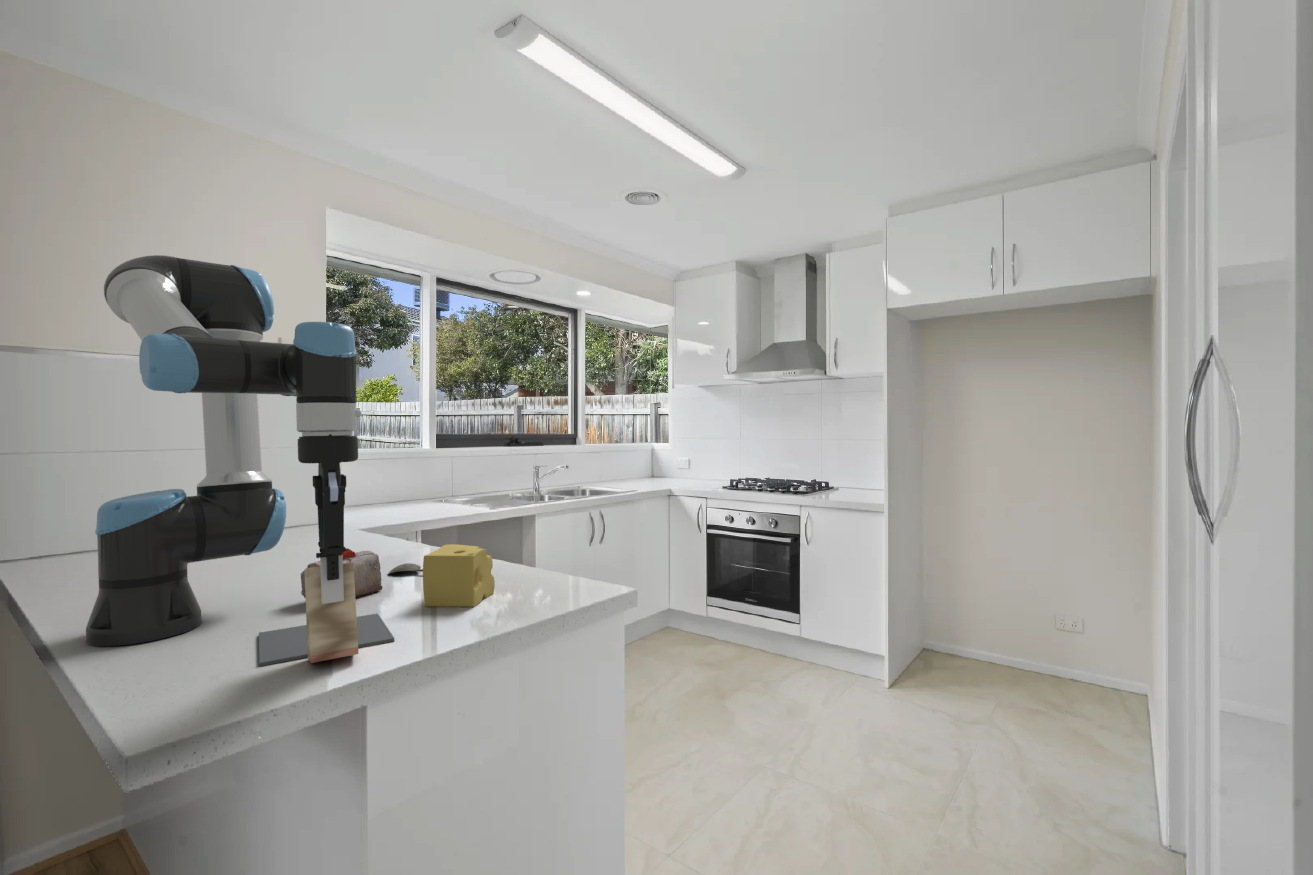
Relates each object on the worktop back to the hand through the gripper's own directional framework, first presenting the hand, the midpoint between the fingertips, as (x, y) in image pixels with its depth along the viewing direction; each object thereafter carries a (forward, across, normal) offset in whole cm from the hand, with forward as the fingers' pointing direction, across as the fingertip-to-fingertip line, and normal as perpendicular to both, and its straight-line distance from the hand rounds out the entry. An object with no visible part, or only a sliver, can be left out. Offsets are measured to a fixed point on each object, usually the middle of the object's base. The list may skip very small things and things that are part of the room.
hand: (332, 600), depth 89 cm
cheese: (+10, +24, -24) cm, 35 cm away
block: (+9, +2, 0) cm, 9 cm away
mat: (+9, +14, 0) cm, 17 cm away
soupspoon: (+10, +49, -23) cm, 55 cm away
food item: (+10, +40, -5) cm, 41 cm away
